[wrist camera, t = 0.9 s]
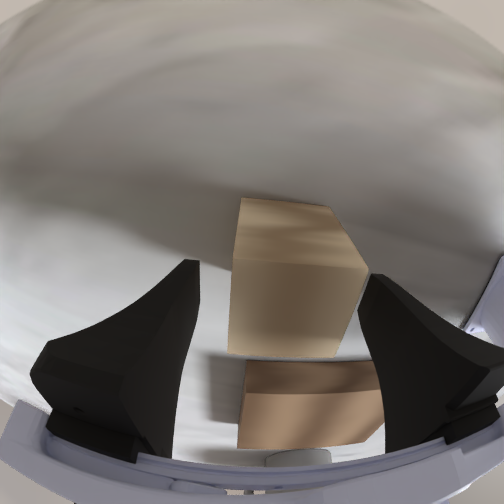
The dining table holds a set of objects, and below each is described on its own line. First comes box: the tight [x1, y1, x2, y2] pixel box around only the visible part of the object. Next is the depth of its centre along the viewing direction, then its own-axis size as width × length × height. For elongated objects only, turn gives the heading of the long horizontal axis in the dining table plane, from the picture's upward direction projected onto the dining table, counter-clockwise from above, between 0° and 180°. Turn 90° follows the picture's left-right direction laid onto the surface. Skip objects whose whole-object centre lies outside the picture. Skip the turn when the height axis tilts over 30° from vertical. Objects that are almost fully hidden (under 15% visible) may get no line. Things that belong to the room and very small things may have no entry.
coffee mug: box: [244, 449, 332, 495], centre depth 28 cm, size 13×10×10 cm
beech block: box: [227, 197, 369, 358], centre depth 12 cm, size 4×4×6 cm
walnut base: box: [237, 360, 385, 449], centre depth 22 cm, size 14×12×3 cm
